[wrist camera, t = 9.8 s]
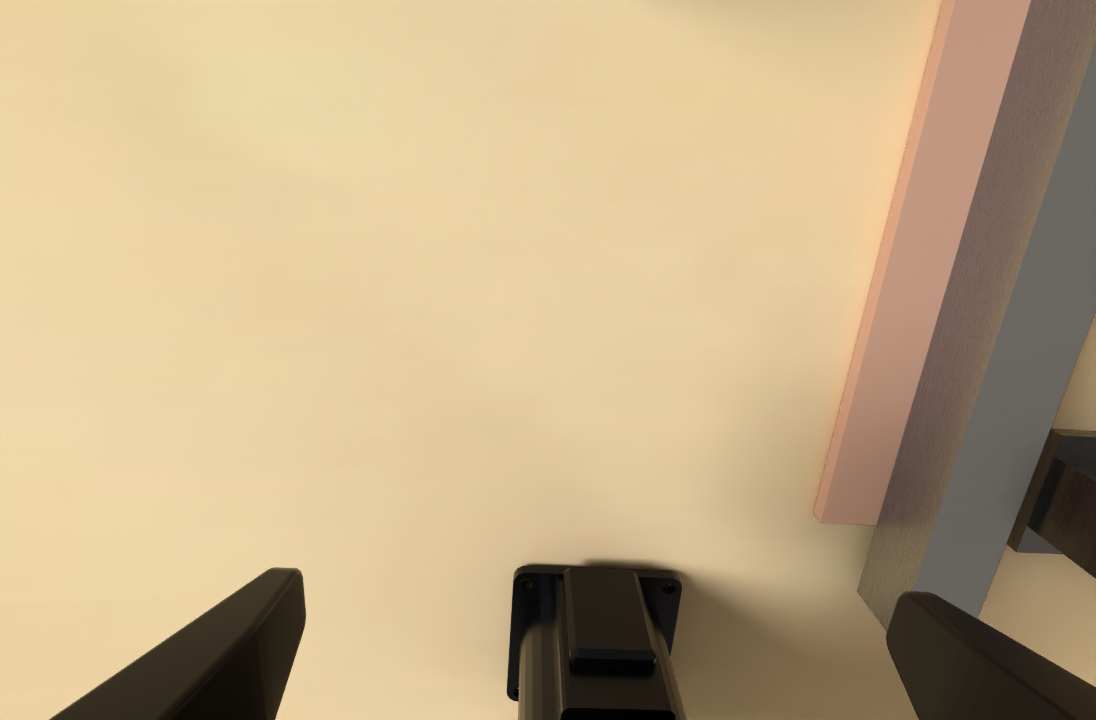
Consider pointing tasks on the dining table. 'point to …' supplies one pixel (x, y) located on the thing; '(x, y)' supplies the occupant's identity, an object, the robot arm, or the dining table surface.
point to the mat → (918, 249)
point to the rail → (1000, 328)
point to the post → (1061, 501)
